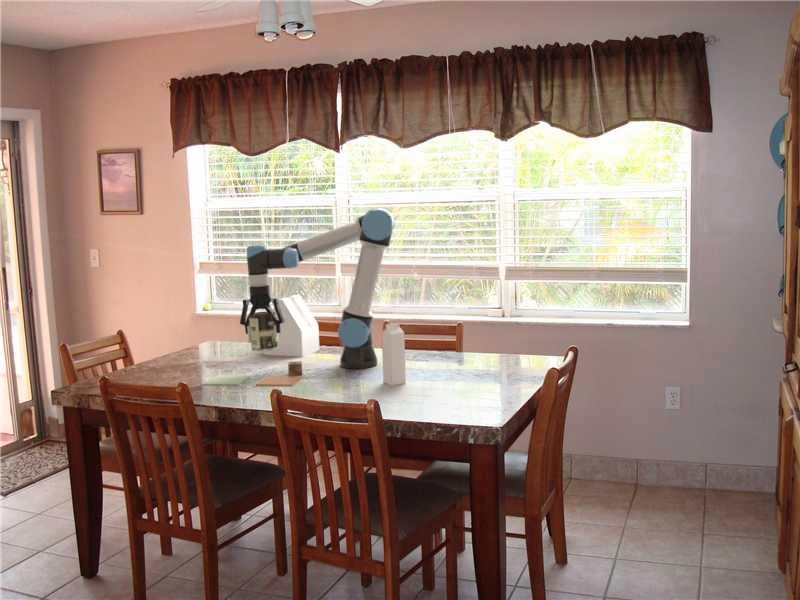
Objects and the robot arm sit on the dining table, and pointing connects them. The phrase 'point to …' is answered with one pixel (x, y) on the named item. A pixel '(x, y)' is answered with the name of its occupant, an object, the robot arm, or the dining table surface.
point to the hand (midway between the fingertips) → (263, 341)
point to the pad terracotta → (279, 380)
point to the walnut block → (295, 368)
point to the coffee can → (262, 331)
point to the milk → (393, 355)
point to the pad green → (227, 380)
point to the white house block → (296, 329)
